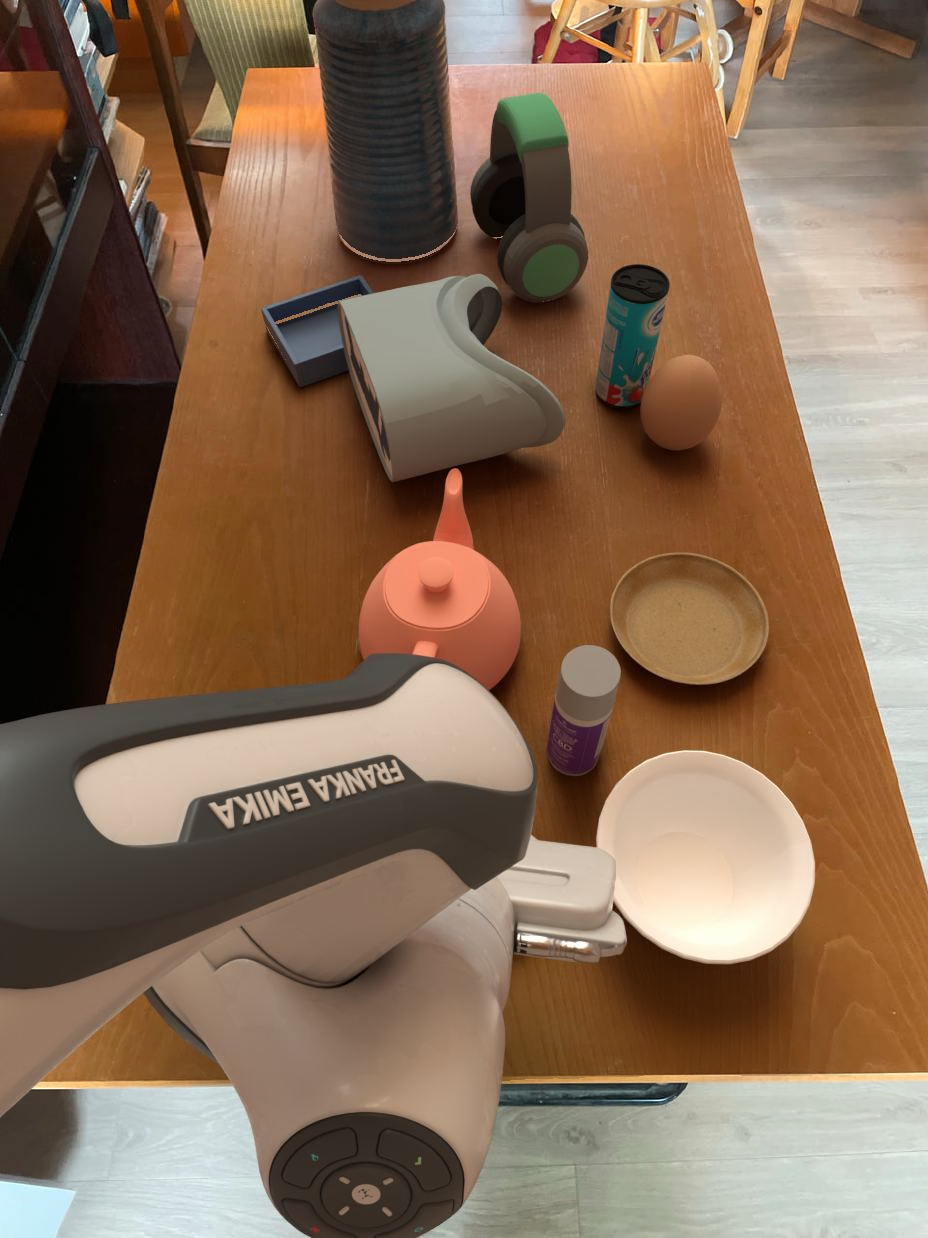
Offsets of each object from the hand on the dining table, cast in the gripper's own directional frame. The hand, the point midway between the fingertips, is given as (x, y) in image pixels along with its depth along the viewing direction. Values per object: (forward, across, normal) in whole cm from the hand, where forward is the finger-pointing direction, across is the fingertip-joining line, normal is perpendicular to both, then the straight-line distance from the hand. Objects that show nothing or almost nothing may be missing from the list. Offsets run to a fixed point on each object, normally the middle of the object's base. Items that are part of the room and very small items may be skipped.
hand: (459, 819), depth 59 cm
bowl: (+12, -18, +9) cm, 23 cm away
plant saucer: (+30, -18, -8) cm, 36 cm away
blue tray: (+55, +24, -34) cm, 69 cm away
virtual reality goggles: (+48, +8, -26) cm, 55 cm away
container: (+20, -8, +2) cm, 21 cm away
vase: (+71, +20, -50) cm, 89 cm away
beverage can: (+52, -11, -30) cm, 61 cm away
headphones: (+68, +3, -46) cm, 82 cm away
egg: (+47, -17, -26) cm, 56 cm away
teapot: (+27, +5, -6) cm, 28 cm away
